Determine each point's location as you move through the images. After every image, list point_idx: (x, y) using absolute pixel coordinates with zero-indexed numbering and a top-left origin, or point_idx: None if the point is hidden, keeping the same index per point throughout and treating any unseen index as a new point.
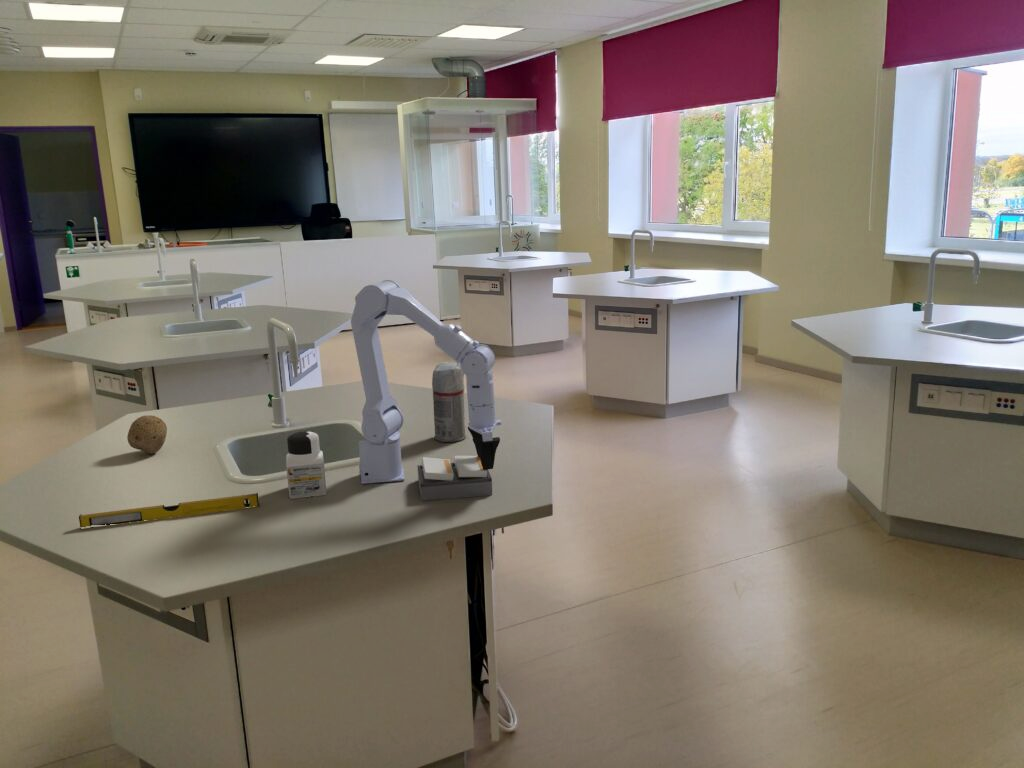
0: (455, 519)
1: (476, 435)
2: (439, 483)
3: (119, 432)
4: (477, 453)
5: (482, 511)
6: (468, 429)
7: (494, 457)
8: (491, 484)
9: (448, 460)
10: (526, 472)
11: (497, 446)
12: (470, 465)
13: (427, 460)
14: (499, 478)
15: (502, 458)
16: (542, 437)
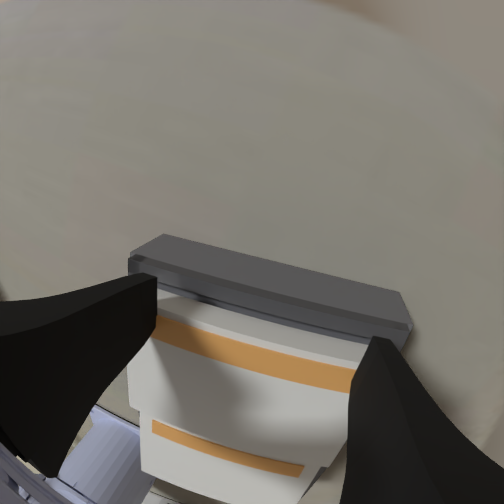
0: (470, 426)
1: (64, 419)
2: (320, 473)
3: (33, 471)
4: (141, 344)
5: (488, 364)
6: (50, 477)
7: (425, 390)
8: (408, 319)
9: (155, 422)
10: (202, 46)
11: (494, 462)
12: (273, 413)
13: (170, 475)
14: (225, 186)
15: (49, 119)
16: (3, 6)
